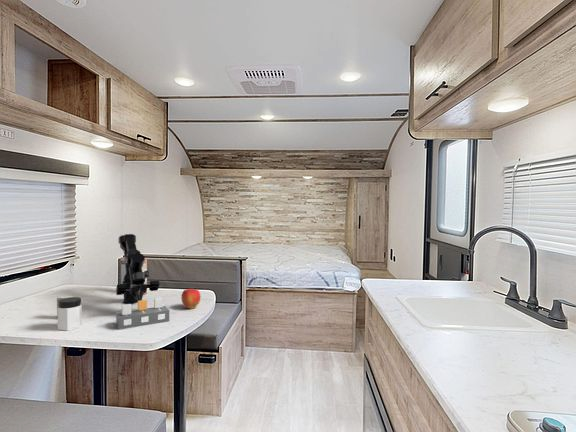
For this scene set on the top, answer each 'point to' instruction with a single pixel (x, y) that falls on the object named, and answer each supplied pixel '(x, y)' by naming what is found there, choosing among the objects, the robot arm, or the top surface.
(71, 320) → the jar
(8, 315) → the top surface
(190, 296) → the apple
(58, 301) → the skincare box
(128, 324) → the grey cube slider board
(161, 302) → the tab
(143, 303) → the tab
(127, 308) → the tab
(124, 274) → the cracker box
